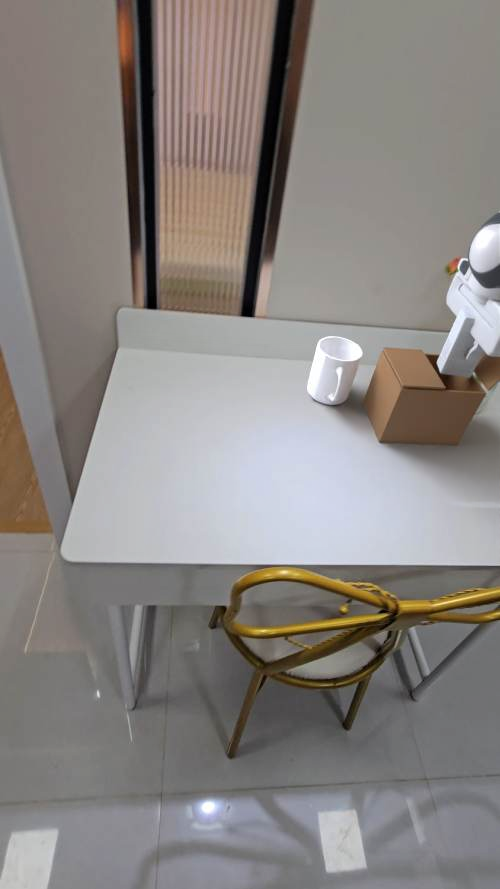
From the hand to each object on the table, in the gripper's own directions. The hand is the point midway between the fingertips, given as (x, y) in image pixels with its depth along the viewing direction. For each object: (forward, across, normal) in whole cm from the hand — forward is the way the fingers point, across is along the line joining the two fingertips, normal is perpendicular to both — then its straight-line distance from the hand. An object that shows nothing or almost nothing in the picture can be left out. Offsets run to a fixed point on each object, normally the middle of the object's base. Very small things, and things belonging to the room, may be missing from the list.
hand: (462, 350), depth 90 cm
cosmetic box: (+5, 0, 0) cm, 5 cm away
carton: (+18, 0, +4) cm, 19 cm away
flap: (0, 0, -6) cm, 6 cm away
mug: (+19, +8, +20) cm, 29 cm away
